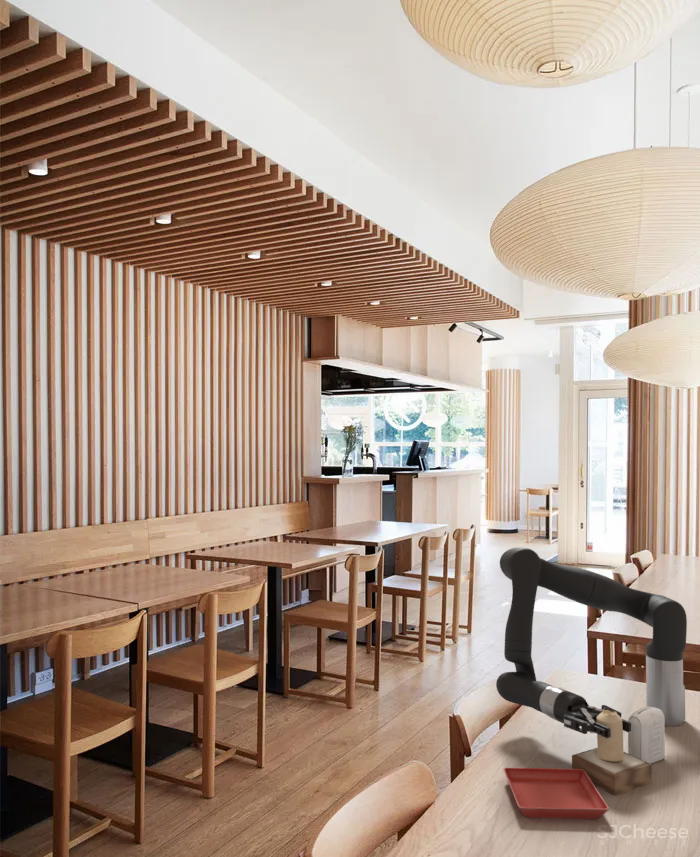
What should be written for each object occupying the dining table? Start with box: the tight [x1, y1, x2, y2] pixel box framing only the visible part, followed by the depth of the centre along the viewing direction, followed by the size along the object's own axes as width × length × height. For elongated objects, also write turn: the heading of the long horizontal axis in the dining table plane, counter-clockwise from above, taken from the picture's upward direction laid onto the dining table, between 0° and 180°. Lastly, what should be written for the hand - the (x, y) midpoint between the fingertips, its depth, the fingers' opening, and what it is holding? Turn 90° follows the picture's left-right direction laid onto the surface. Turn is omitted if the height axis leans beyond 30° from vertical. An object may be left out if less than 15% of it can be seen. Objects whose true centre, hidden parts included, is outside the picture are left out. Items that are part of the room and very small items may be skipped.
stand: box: [571, 747, 653, 796], centre depth 160 cm, size 12×12×4 cm
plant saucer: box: [502, 767, 610, 820], centre depth 150 cm, size 18×18×3 cm
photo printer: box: [627, 706, 666, 764], centre depth 169 cm, size 10×4×12 cm, turn 123°
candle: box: [596, 710, 625, 762], centre depth 161 cm, size 6×6×10 cm
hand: (619, 730), depth 159 cm, fingers open, 6 cm apart
